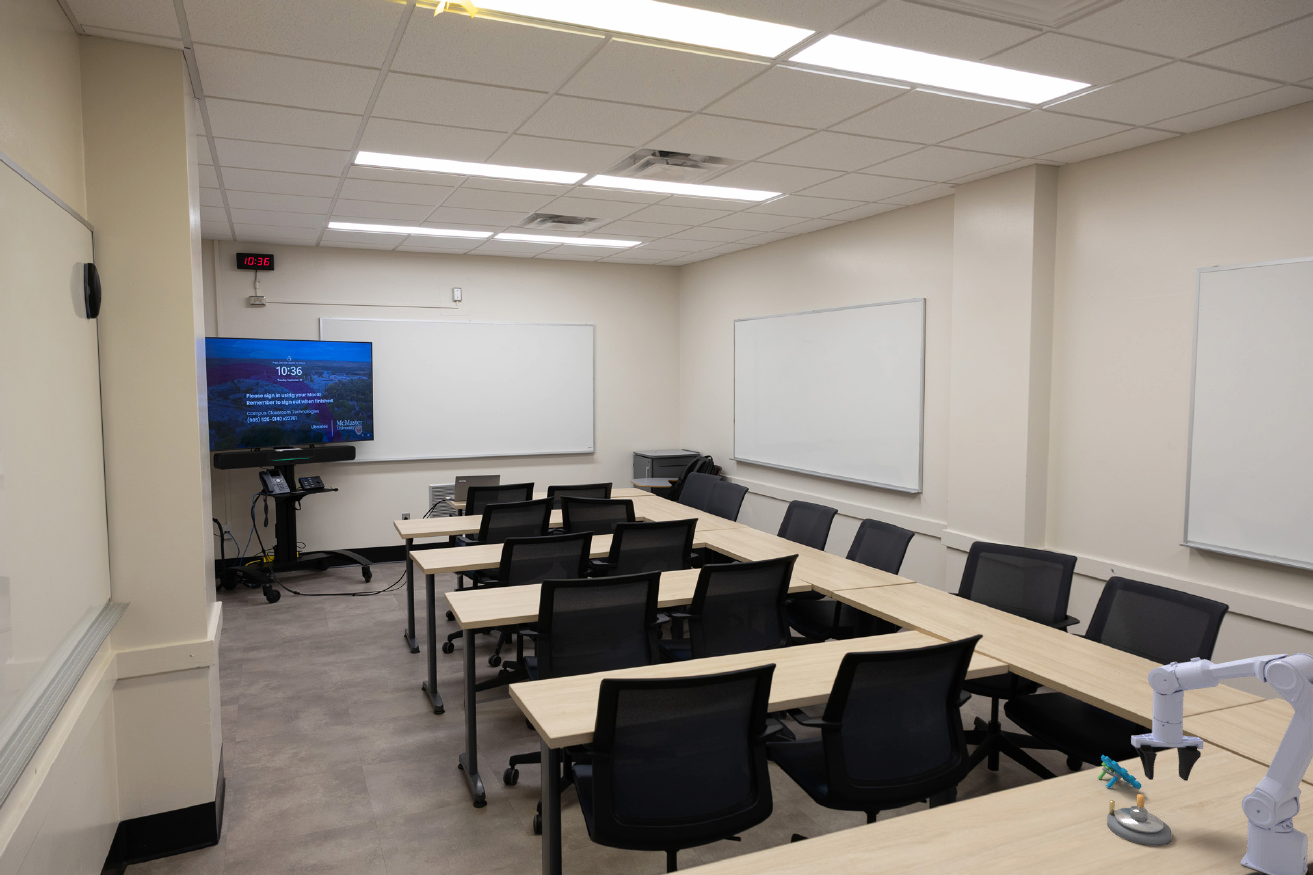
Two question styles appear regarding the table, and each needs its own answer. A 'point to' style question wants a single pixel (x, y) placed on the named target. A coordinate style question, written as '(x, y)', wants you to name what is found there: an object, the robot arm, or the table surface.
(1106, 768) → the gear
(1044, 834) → the table surface
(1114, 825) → the post base
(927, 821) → the table surface
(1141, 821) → the flange
